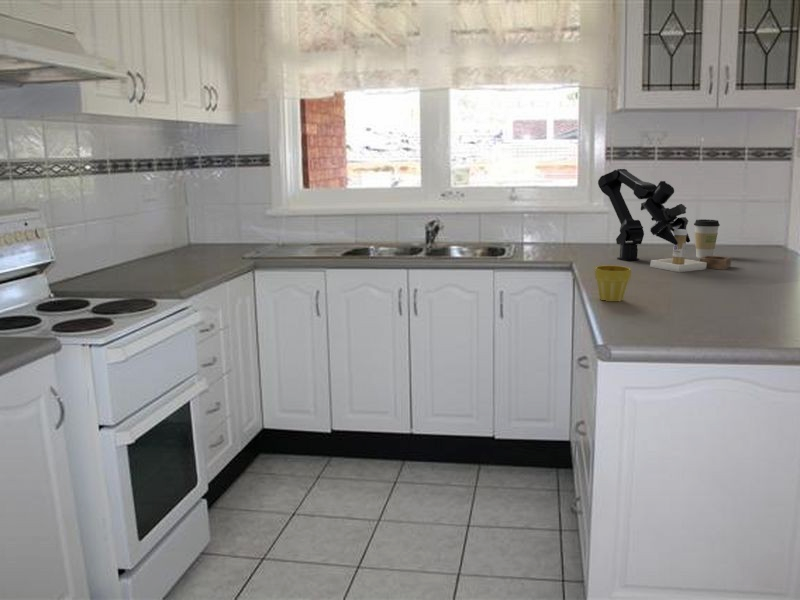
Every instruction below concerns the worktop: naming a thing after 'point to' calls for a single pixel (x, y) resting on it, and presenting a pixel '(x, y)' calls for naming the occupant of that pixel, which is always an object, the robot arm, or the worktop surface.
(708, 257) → the walnut holder
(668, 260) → the cream tray
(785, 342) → the worktop surface
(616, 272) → the plant pot
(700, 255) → the coffee cup
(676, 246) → the sprinkles bottle
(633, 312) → the worktop surface
